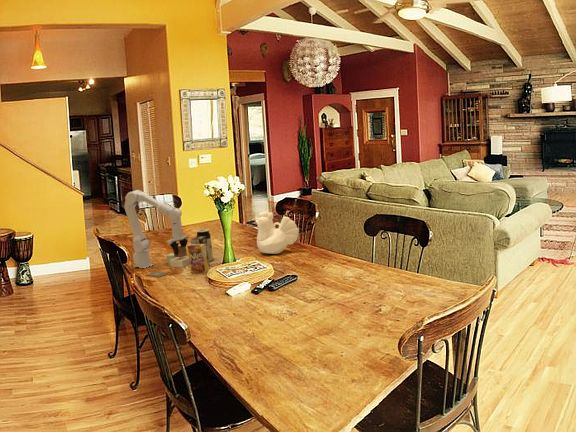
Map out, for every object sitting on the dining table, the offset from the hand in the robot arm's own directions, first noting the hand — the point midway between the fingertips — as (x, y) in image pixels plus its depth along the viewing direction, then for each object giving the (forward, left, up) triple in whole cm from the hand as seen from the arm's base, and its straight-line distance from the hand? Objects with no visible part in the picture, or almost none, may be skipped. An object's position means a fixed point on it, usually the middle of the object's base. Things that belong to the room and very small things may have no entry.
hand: (180, 253), depth 308 cm
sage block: (-9, +2, -7) cm, 11 cm away
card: (+2, -20, -7) cm, 21 cm away
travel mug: (+8, +12, -7) cm, 16 cm away
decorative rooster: (+41, +38, -7) cm, 56 cm away
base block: (0, 0, -7) cm, 7 cm away
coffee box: (+14, +2, -7) cm, 16 cm away
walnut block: (0, 0, -2) cm, 2 cm away
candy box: (+22, -8, -7) cm, 24 cm away
